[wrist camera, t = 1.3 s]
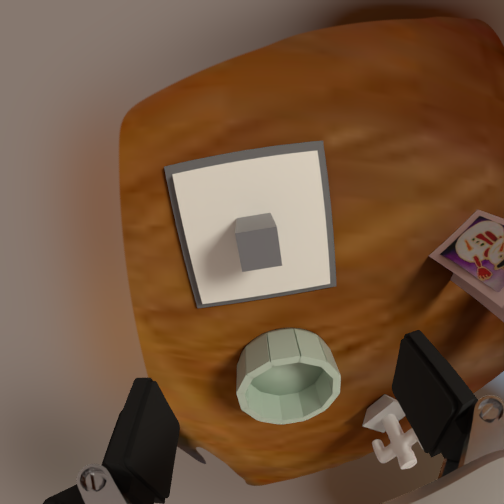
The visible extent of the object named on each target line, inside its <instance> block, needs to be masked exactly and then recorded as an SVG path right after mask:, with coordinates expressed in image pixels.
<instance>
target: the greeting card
mask: <svg viewBox="0 0 504 504" xmlns="http://www.w3.org/2000/svg"><path fill="white" fill-rule="evenodd" d="M429 257H431V258H432V259H434V260H435V261H437V262H438V263H440V264H441V265H443V266H444V267H446V268H447V269H449V270H450V271H452V272H453V275H452V277H451V279H450V280H451V281H453V282H454V283H455V284H457V285H458V286H459V287H461V288H462V289H463V290H465V291H466V292H467V293H468V294H470V295H471V296H472V297H474V298H475V299H476V300H477V301H479V302H480V303H481V304H482V305H484V306H485V307H486V308H487V309H489V310H490V311H491V312H492V313H494V314H495V315H496V316H497V317H498V318H499V319H501V320H502V321H503V322H504V219H502V218H499V217H497V216H494V215H491V214H489V213H486V212H483V211H480V210H476V212H475V213H474V214H473V215H472V216H471V217H470V218H469V219H468V220H467V221H466V222H465V223H464V224H463V225H462V226H461V227H459V228H458V229H457V230H456V231H455V232H454V233H453V234H452V235H451V236H450V237H449V238H448V239H447V240H446V241H445V242H444V243H442V244H441V245H440V246H439V247H438V248H437V249H436V250H435V251H434V252H433V253H431V254H430V255H429Z"/></svg>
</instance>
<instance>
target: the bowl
mask: <svg viewBox="0 0 504 504" xmlns="http://www.w3.org/2000/svg"><path fill="white" fill-rule="evenodd" d="M340 382H341V375H340V373H339V370H338V368H337V365H336V363H335V360H334V358H333V355H332V353H331V350H330V348H329V347H328V346H327V345H326V343H325V342H324V341H323V339H321V338H320V337H319V336H318V335H316V334H315V333H313V332H311V331H308V330H305V329H300V328H280V329H275V330H272V331H268V332H266V333H264V334H261V335H260V336H258V337H256V338H255V339H253V340H252V341H251V342H250V343H249V344H248V345H247V346H246V347H245V348H244V350H243V351H242V353H241V355H240V358H239V361H238V363H237V385H236V394H237V397H238V401H239V404H240V407H241V409H242V410H243V411H244V412H246V413H247V414H248V415H250V416H251V417H253V418H254V419H256V420H259V421H262V422H268V423H274V424H281V423H282V424H288V423H294V422H300V421H305V420H308V419H310V418H312V417H313V416H315V415H317V414H319V413H321V412H323V411H325V410H326V409H327V408H328V407H329V406H330V405H331V404H332V402H333V401H334V400H335V399H336V397H337V396H338V395H339V393H340Z"/></svg>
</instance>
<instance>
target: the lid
mask: <svg viewBox="0 0 504 504" xmlns="http://www.w3.org/2000/svg"><path fill="white" fill-rule="evenodd" d="M172 176H173V181H174V186H175V191H176V196H177V201H178V205H179V210H180V215H181V219H182V224H183V228H184V233H185V237H186V241H187V245H188V250H189V254H190V258H191V262H192V266H193V270H194V274H195V278H196V282H197V285H198V289H199V293H200V297H201V301H202V304H208V303H215V302H222V301H229V300H236V299H243V298H249V297H256V296H262V295H268V294H275V293H281V292H287V291H292V290H298V289H304V288H310V287H315V286H321V285H326V284H330V268H329V253H328V240H327V228H326V217H325V207H324V198H323V189H322V181H321V173H320V165H319V158H318V151H307V152H298V153H290V154H282V155H275V156H268V157H261V158H255V159H248V160H242V161H236V162H231V163H225V164H220V165H214V166H209V167H204V168H199V169H194V170H190V171H185V172H180V173H176V174H172Z"/></svg>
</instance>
